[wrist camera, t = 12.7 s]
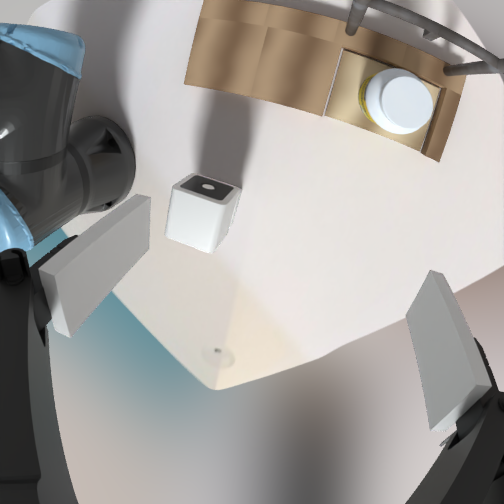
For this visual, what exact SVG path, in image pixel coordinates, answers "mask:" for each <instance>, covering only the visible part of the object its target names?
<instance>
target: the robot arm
mask: <svg viewBox="0 0 504 504" xmlns="http://www.w3.org/2000/svg"><path fill="white" fill-rule="evenodd" d="M84 54H85V43H84V41H83V39H82V38H81V37H79V36H78V35H75V34H72V33H68V32H64V31H60V30H55V29H50V28H44V27H38V26H31V25H21V24H20V25H18V24H9V23H0V504H78V501H77V499H76V496H75V492H74V489H73V486H72V482H71V479H70V475H69V471H68V468H67V463H66V459H65V455H64V451H63V447H62V442H61V437H60V432H59V426H58V421H57V415H56V409H55V402H54V395H53V387H52V378H51V368H50V356H49V339H48V330H47V326H46V325H47V324H48V322H49V321H50V320H51V319H52V321H53V324H54V328H55V330H56V331H58V332H60V333H61V334H63V335H65V336H68V337H69V338H71V337H72V336H73V335H74V334H75V332H76V331H77V330H78V329H79V328H80V326H81V325H82V324H83V323H84V322H85V320H86V319H87V318H88V317H89V316H90V314H91V313H92V312H93V311H94V310H95V309H96V307H97V306H98V305H99V304H100V303H101V302H102V300H103V299H104V298H105V297H106V296H107V295H108V294H109V292H110V291H111V290H112V289H113V288H114V287H115V286H116V284H117V283H118V282H119V281H120V280H121V279H122V278H123V277H124V276H125V274H126V273H127V272H128V271H129V270H130V269H131V268H132V267H133V266H134V265H135V263H136V262H137V261H138V260H139V259H140V258H141V257H142V256H143V255H144V254H145V253H146V252H147V251H148V250H149V237H150V203H151V197H148V196H143V195H139V194H136V195H134V196H133V197H131V198H130V199H129V200H127V201H126V202H124V203H123V204H121V205H120V206H119V207H117V208H116V209H114V210H113V211H111V212H110V213H109V214H107V215H106V216H105V217H103V218H102V219H100V220H99V221H98V222H96V223H95V224H94V225H92V226H91V227H90V228H88V229H87V230H86V231H84V232H83V233H82V234H81V235H79V236H78V235H74V236H72V237H70V238H67V239H65V240H64V241H62V242H61V243H60V244H58V245H57V247H55V248H53V249H52V250H51V251H50V253H47V254H46V255H45V256H43V257H42V258H41V259H40V260H38V261H37V262H36V263H35V264H34V265H32V266H31V267H30V268H29V264H28V259H27V255H26V252H25V251H27V250H30V249H32V248H33V247H34V246H35V245H37V244H38V243H39V242H41V241H42V240H43V239H45V238H46V237H47V236H49V235H50V234H52V233H53V232H54V231H56V230H57V229H59V228H60V227H62V226H63V225H65V224H66V223H67V222H69V221H70V220H72V219H73V218H75V217H76V216H78V215H81V214H88V213H96V212H102V211H106V210H108V209H110V208H112V207H114V206H115V205H117V204H118V203H120V202H121V201H122V200H123V199H124V198H125V197H126V196H127V195H128V193H129V191H130V189H131V187H132V184H133V181H134V175H135V160H134V154H133V150H132V147H131V144H130V142H129V140H128V138H127V136H126V135H125V133H124V132H123V130H122V129H121V128H120V127H119V126H118V125H117V124H116V123H114V122H113V121H111V120H109V119H107V118H104V117H100V116H93V117H88V118H83V119H80V120H78V121H76V122H74V123H72V124H71V118H72V113H73V107H74V102H75V98H76V93H77V89H78V84H79V80H80V79H81V77H82V75H81V69H82V63H83V59H84ZM406 318H407V322H408V326H409V330H410V333H411V338H412V342H413V345H414V350H415V354H416V359H417V363H418V367H419V372H420V377H421V382H422V387H423V392H424V397H425V403H426V408H427V414H428V421H429V427H430V431H446V430H448V429H449V428H450V427H451V426H452V425H453V424H454V423H455V422H456V426H457V430H456V431H455V432H454V433H453V434H452V435H450V436H449V437H448V438H447V439H445V440H444V441H443V442H442V443H441V444H440V446H442V445H444V444H445V443H446V445H445V447H444V448H443V450H442V452H441V453H440V455H439V456H438V458H437V460H436V461H435V463H434V464H433V466H432V467H431V469H430V470H429V472H428V473H427V475H426V476H425V478H424V479H423V480H422V482H421V483H420V485H419V486H418V488H417V489H416V490H415V491H414V493H413V494H412V495H411V497H410V498H409V500H408V501H407V502H406V503H405V504H504V392H500V391H499V390H498V387H497V384H496V382H495V379H494V376H493V373H492V370H491V368H490V366H489V363H488V360H487V359H486V355H485V353H484V351H483V348H482V346H481V345H480V344H479V342H478V341H477V340H476V338H474V337H473V336H472V333H471V331H470V328H469V326H468V324H467V322H466V320H465V318H464V315H463V313H462V311H461V309H460V307H459V305H458V302H457V300H456V298H455V296H454V294H453V292H452V290H451V288H450V286H449V284H448V282H447V280H446V279H445V277H444V275H443V274H442V273H439V272H435V271H432V270H430V271H429V273H428V275H427V277H426V279H425V281H424V283H423V285H422V287H421V288H420V290H419V292H418V294H417V296H416V298H415V300H414V301H413V303H412V305H411V307H410V308H409V310H408V312H407V314H406Z"/></svg>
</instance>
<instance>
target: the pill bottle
mask: <svg viewBox="0 0 504 504" xmlns="http://www.w3.org/2000/svg"><path fill="white" fill-rule="evenodd" d="M358 101H359V105H360V108H361V110H362V112H363V113H364V115H365V116H366V117H367V118H368V119H369V120H370V121H372V122H374V123H375V124H377V125H378V126H380V127H381V128H383V129H384V130H386V131H389V132H391V133H395V134H408V133H412V132H414V131H416V130H418V129H419V128H420V127H422V126H423V125H424V124H426V122H427V121H428V120H429V119H430V117H431V114H432V111H433V101H432V97H431V94H430V92H429V90H428V89H427V87H426V86H425V85H424V84H423V82H422V81H421V80H420V79H419V78H418V77H417V76H415V75H414V74H412V73H411V72H409V71H406V70H403V69H397V68H392V69H386V70H383V71H381V72H378V73H375V74H373V75H371V76H369V77H368V78H366V79H365V80H364V82H363V83H362V84H361V86H360V89H359V93H358Z"/></svg>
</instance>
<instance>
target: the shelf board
mask: <svg viewBox="0 0 504 504" xmlns="http://www.w3.org/2000/svg"><path fill="white" fill-rule="evenodd" d="M368 7H370V8H373V9H376V10H379V11H382V12H385V13H387V14H390V15H392V16H395V17H398V18H400V19H403V20H405V21H407V22H410V23H412V24H414V25H417V26H419V27H421V28H423V29H424V33H423V37H424V38H426V39H428V40H430V41H432V40H434V39H437V38H439V37H442V38H444V39H446V40H448V41H450V42H452V43H454V44H455V45H457V46H459V47H461V48H463V49H465V50H466V51H468V52H470V53H471V54H473V55H475V56H477V57H478V58H480V59H482V60H483V61H478V62H471V63H464V64H458V65H450V64H448V63H446V62H444V61H442V60H440V59H438V58H436V57H434V56H432V55H430V54H428V53H426V52H424V51H421V50H419V49H417V48H415V47H412V46H410V45H408V44H406V43H403V42H401V41H398V40H396V39H393V38H391V37H388V36H386V35H383V34H380V33H378V32H375V31H372V30H369V29H366V28H363V27H360V26H359V25H360V23H361V21H362V19H363V17H364V15H365V12H366V10H367V8H368ZM341 48H344V49H348V50H351V51H354V52H357V53H360V54H363V55H365V56H368V57H371V58H374V59H376V60H379V61H382V62H384V63H387V64H389V65H392V66H394V67H397V68H399V69H403V70H406V71H409V72H411V73H412V74H414V75H416V76H418V77H420V78H422V79H424V80H426V81H429V82H431V83H433V84H435V85H437V86H439V87H441V92H440V95H439V98H438V102H437V105H436V108H435V112H434V115H433V118H432V121H431V124H430V127H429V130H428V133H427V136H426V139H425V142H424V145H423V148H422V150H421V153H422V154H423V155H425V156H427V157H429V158H431V159H433V160H435V161H438V162H439V161H440V158H441V156H442V153H443V150H444V147H445V145H446V142H447V139H448V136H449V133H450V130H451V127H452V124H453V121H454V118H455V114H456V111H457V108H458V104H459V101H460V98H461V94H462V90H463V87H464V83H465V79H466V75H472V74H493V73H503V74H504V59H499V58H498V57H496V56H495V55H493V54H492V53H490V52H489V51H487V50H485V49H484V48H482V47H480V46H479V45H477V44H476V43H474V42H472V41H470V40H469V39H467V38H465V37H463V36H462V35H460V34H458V33H456V32H454V31H452V30H450V29H449V28H447V27H445V26H443V25H441V24H439V23H437V22H435V21H432V20H430V19H428V18H426V17H424V16H422V15H419V14H417V13H415V12H413V11H410V10H408V9H405V8H403V7H401V6H398V5H395V4H393V3H390V2H388V1H385V0H353V4H352V8H351V11H350V15H349V18H348V22H344V21H341V20H338V19H334V18H330V17H327V16H323V15H319V14H315V13H311V12H307V11H302V10H298V9H293V8H288V7H283V6H278V5H272V4H266V3H260V2H253V1H245V0H204V2H203V5H202V9H201V13H200V16H199V20H198V24H197V28H196V32H195V36H194V40H193V44H192V49H191V53H190V57H189V62H188V67H187V71H186V76H185V81H184V84H185V85H191V86H197V87H203V88H209V89H214V90H220V91H225V92H230V93H235V94H239V95H244V96H248V97H253V98H257V99H261V100H265V101H269V102H273V103H277V104H281V105H285V106H288V107H292V108H296V109H299V110H303V111H306V112H309V113H313V114H316V115H319V116H322V115H323V111H324V108H325V104H326V101H327V97H328V94H329V90H330V87H331V83H332V80H333V76H334V73H335V69H336V66H337V62H338V58H339V55H340V51H341ZM386 69H392V67H389V66H387V65H384V64H382V63H379V62H376V61H374V60H371V59H368V58H365V57H363V56H360V55H357V54H354V53H351V52H348V51H344V50H343V53H342V57H341V60H340V64H339V68H338V71H337V75H336V78H335V82H334V85H333V89H332V92H331V96H330V99H329V103H328V106H327V110H326V113H325V116H328V117H331V118H334V119H337V120H340V121H343V122H346V123H349V124H352V125H355V126H357V127H360V128H363V129H366V130H368V131H371V132H374V133H376V134H379V135H381V136H384V137H387V138H389V139H392V140H394V141H396V142H399V143H401V144H404V145H406V146H408V147H411V148H413V149H415V150H417V151H420V149H421V146H422V143H423V140H424V137H425V134H426V131H427V128H428V125H429V122H430V119H431V117H430V119H429V120H428V121H427V122H426V124H424V125H423V126H422V127H420V128H419V129H418V130H416V131H414V132H412V133H408V134H395V133H391V132H389V131H386V130H384V129H383V128H381V127H380V126H378V125H377V124H375V123H374V122H372V121H370V120H369V119H368V118H367V117H366V116H365V115H364V113H363V112H362V110H361V108H360V105H359V101H358V93H359V89H360V86H361V84H362V83H363V82H364V80H365V79H366V78H368V77H369V76H371V75H373V74H375V73H378V72H381V71H383V70H386ZM421 81H422V80H421ZM422 82H423V84H424V85H425V86H426V87H427V89H428V90H429V92H430V94H431V97H432V101H433V110H434V107H435V103H436V100H437V97H438V93H439V90H440V89H439V88H437V87H435V86H433V85H431V84H429V83H426V82H424V81H422ZM432 113H433V111H432ZM431 116H432V114H431Z"/></svg>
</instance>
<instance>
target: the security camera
mask: <svg viewBox="0 0 504 504" xmlns="http://www.w3.org/2000/svg"><path fill="white" fill-rule="evenodd" d="M241 193H242V189H241V188H238V187H236V186H233V185H230V184H227V183H224V182H222V181H218V180H215V179H212V178H209V177H206V176H203V175H200V174H196V173H192V174H190V175H188V176H187V177H185V178H184V179H182V180H181V181H179V182H178V183H176V184H175V185H173V187H172V193H171V198H170V204H169V210H168V216H167V222H166V229H165V236H166V237H168V238H170V239H172V240H175V241H178V242H180V243H183V244H186V245H188V246H191V247H193V248H196V249H199V250H201V251H204V252H207V253H214V252H215V251H216V250H217V248H218V247H219V245H220V244H221V242H222V241H223V239H224V238H225V236H226V235H227V233H228V230H229V227H230V226H231V225H232V223H233V221H234V217H235V213H236V210H237V206H238V203H239V200H240V196H241Z"/></svg>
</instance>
